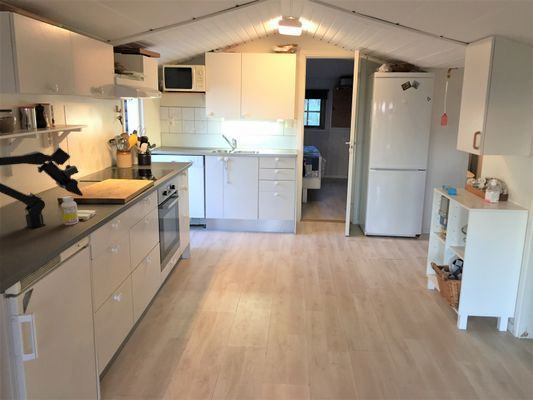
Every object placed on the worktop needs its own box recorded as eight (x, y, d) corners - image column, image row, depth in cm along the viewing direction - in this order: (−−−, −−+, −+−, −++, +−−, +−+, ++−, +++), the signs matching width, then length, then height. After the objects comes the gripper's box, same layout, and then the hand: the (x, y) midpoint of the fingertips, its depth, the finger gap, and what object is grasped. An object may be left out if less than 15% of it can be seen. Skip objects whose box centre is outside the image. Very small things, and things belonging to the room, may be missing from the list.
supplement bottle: (67, 221, 214) (64, 195, 211) (81, 221, 214) (78, 195, 211) (61, 225, 207) (57, 198, 204) (74, 225, 207) (71, 198, 204)
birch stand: (87, 220, 214) (86, 216, 214) (67, 220, 215) (66, 216, 214) (97, 213, 226) (96, 210, 226) (78, 214, 226) (77, 210, 226)
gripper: (72, 162, 203) (97, 184, 212) (62, 158, 217) (85, 179, 226) (54, 179, 199) (80, 201, 208) (45, 174, 214) (69, 195, 222)
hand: (79, 193), depth 216 cm, fingers open, 9 cm apart
